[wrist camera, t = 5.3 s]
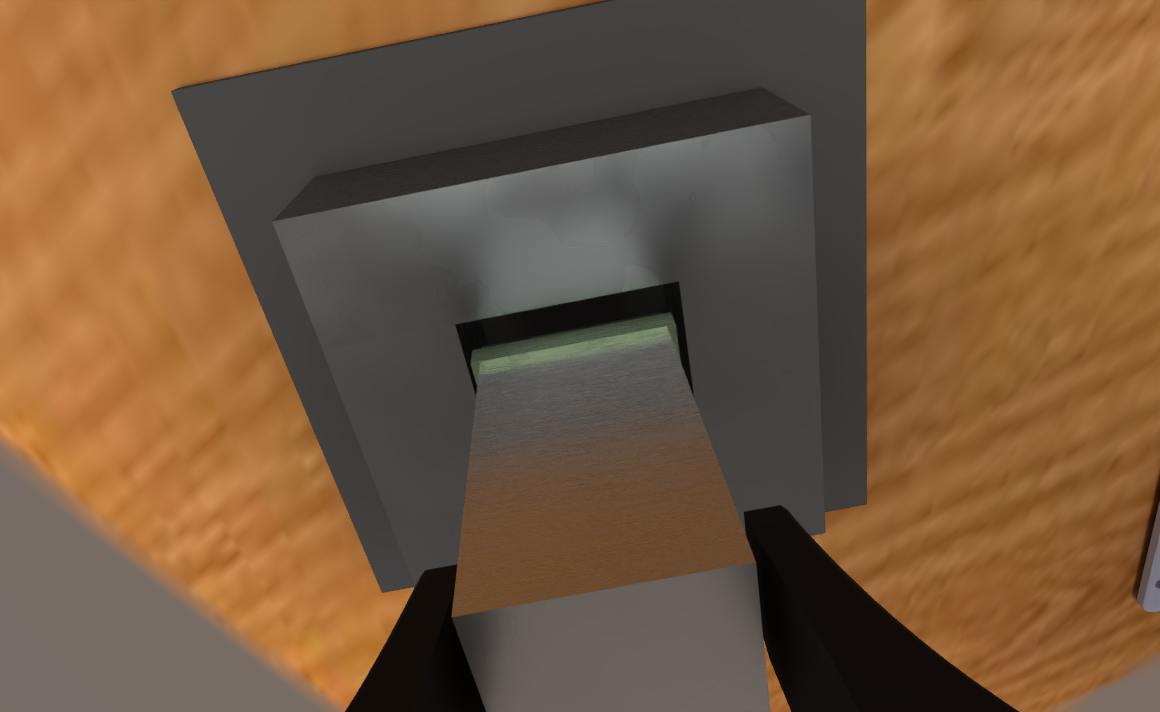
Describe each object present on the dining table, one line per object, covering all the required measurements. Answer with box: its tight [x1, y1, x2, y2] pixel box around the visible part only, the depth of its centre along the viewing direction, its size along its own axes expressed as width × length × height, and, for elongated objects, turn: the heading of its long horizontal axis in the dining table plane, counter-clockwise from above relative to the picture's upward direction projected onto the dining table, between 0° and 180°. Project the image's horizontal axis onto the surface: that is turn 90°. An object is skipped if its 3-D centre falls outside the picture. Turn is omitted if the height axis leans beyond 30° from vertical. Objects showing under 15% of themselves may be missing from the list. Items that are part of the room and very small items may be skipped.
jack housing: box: [272, 87, 825, 586], centre depth 19 cm, size 11×11×4 cm
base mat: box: [171, 0, 867, 593], centre depth 21 cm, size 16×16×1 cm
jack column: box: [452, 312, 770, 712], centre depth 14 cm, size 4×4×8 cm
